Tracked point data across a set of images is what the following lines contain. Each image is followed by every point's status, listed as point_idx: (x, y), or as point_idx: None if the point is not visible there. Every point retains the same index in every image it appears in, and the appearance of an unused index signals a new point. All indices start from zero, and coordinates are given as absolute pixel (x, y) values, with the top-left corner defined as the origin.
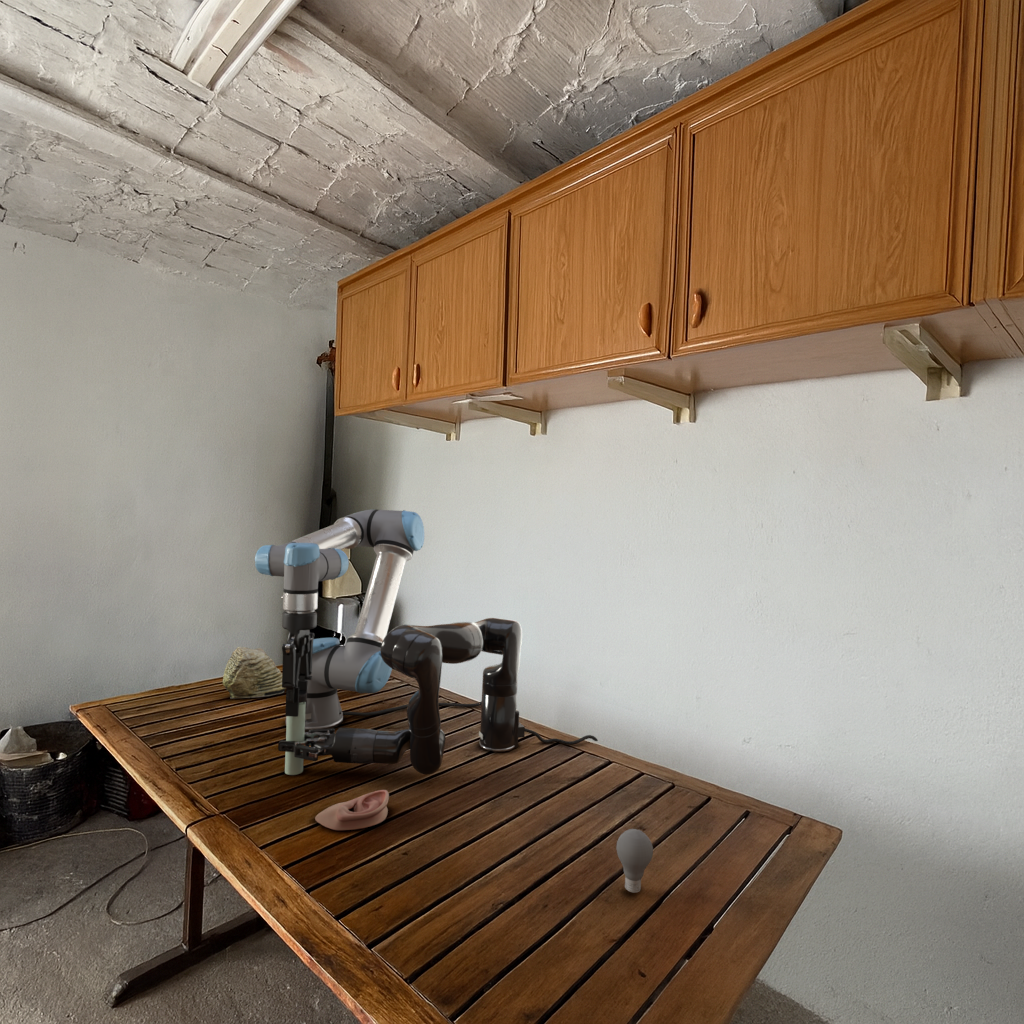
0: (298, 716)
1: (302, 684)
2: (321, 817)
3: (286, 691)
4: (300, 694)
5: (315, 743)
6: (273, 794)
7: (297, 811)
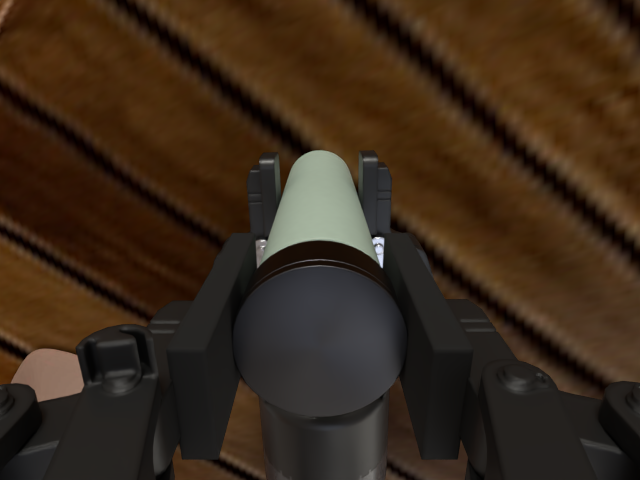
0: None
1: (419, 399)
2: (27, 372)
3: (183, 324)
4: (282, 387)
5: None
6: (143, 182)
7: (68, 289)
